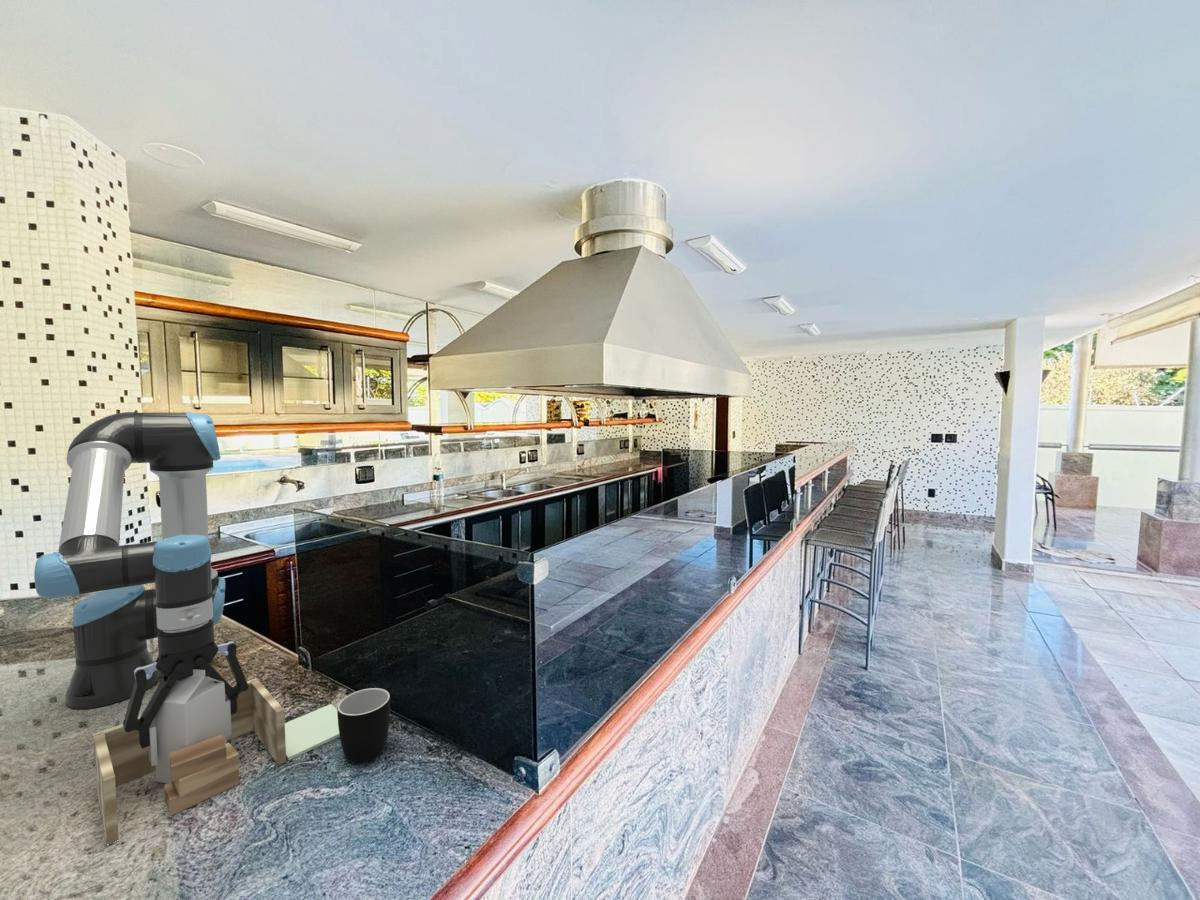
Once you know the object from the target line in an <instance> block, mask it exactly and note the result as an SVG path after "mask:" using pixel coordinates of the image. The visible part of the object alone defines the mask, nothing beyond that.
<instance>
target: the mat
mask: <svg viewBox="0 0 1200 900" xmlns="http://www.w3.org/2000/svg"><path fill="white" fill-rule="evenodd" d="M337 738H340V734H339V727H338V715H337V707H335V706H334V704H332V703H330V704H328V705H326V706H323V707H321V708H319V709H316V710H313V711H311V712H309V713H306V714H303V715H302V716H298V717H296V718H293V719H292V720H289V721H288V722H287V721H286V722H285V744H286V760H287V761H291V760H292V759H295V758H297V757H299V756H302V755H304V754H306V753H307V752H310V751H311V750H314V749H316V748H318V747H320V746H322V745H325V744H326V743H328V742H331V741H333V740H336V739H337Z"/></svg>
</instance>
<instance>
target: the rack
mask: <svg viewBox="0 0 1200 900" xmlns="http://www.w3.org/2000/svg"><path fill="white" fill-rule="evenodd" d="M246 681H247V683H248V686H249V688H248V689H247V690H246V691H242V692H241V693H239V694H238V698H237V712H236V713H235V714H232V715H231V732H232V734H231V735H229V736H227V742H228V741H230V740H233V739H235V738H237V737H241V736H243V735H245V734H247V733H250V732H252V731H253V732H254V733H255V735H256V736H257V737H258V739H259V740H260V742H261V743H262V744H263V746H264V747H265V748H266V750H267V751H268V753H269V754H270V755H271V757H272V758H273V760H274V761H275V763H276V764H277V765H278V766H280V765H282V764H284V763H286V762H287V758H286V744H285V723H286V722H285V721H286V720H285V717H286V716H285V708H284V707H282V705H281V704H280V703H279V701H278V700H276V699H275V697H274V696H273V695H272V694H271V693H270V692H269V690H267V688H266V687H265V686H264V685H263V684H262V683H261V682H260V681H259V680H258V679H257V677H255V678H253V679H250V680H246ZM231 686H232V687H234V686H235V685H231ZM225 695H226V694H225ZM226 696H227V695H226ZM137 719H140V717H138V718H137ZM92 736H93V737H92V738H93V753H94V771H95V785H96V795H97V799H98V805H99V809H100V815H101V820H102V826H104V827H103V831H105V832H104V836H106V837H105V840H106V841H107V842H106V845H107V844H110V843H113V842H115V841H117V840H120V839H119V823H118V805H117V791H116V790H117V789H116V787H119V786H120V785H122V784H125V783H127V782H130V781H132V780H135V779H137V778H140V777H142V776H145V775H147V774H150V773H152V772H156V768H155V765H154V766H151V763H150V760H149V747H145V748H143V749H142V747H141V746H140V743H139V731H138V730H132V731H131V732H126V731H125V729H124V726H123V723H122V724H118V725H115V726H112V727H109V728H106V729H104V730H100V731H97V732H95V733H93V735H92ZM117 842H118V841H117ZM115 843H116V842H115ZM113 844H114V843H113Z"/></svg>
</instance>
